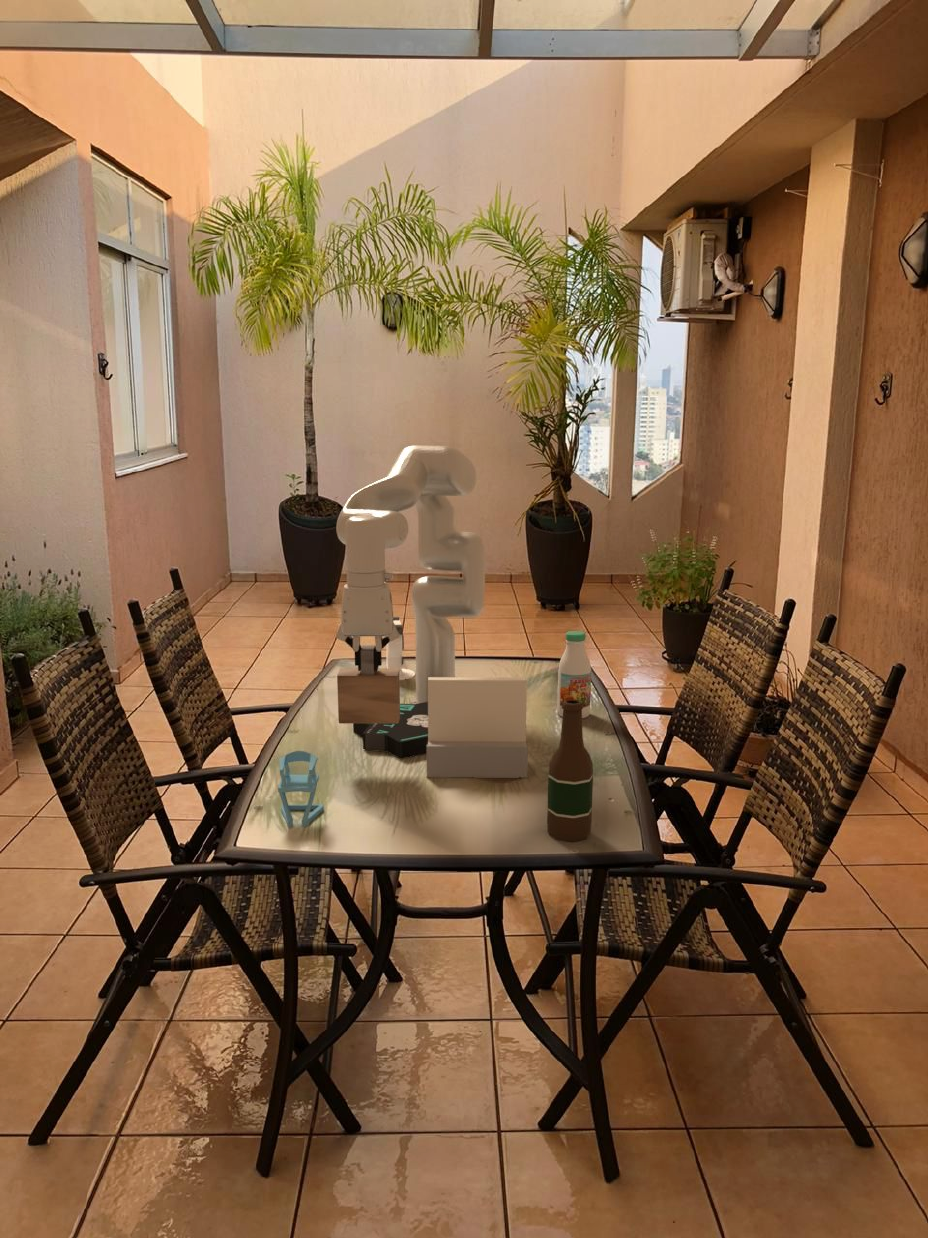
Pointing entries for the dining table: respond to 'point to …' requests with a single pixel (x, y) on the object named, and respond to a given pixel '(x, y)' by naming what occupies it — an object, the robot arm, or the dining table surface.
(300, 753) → the chair
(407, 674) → the white peg on disc
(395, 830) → the dining table surface
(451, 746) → the wall board
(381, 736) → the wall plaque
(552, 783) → the beer bottle
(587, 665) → the milk bottle
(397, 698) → the walnut cabinet
